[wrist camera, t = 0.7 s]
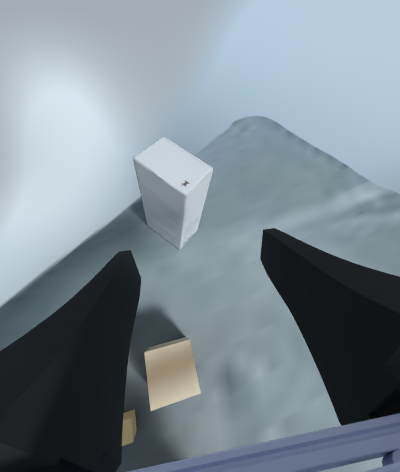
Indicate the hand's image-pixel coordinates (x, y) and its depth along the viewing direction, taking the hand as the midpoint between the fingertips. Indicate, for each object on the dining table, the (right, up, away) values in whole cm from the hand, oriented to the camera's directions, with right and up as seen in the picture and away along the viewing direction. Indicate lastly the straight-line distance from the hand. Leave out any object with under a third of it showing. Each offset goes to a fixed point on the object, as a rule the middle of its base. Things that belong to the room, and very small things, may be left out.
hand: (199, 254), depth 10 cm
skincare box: (-4, +2, +17) cm, 17 cm away
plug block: (-3, -13, +10) cm, 16 cm away
